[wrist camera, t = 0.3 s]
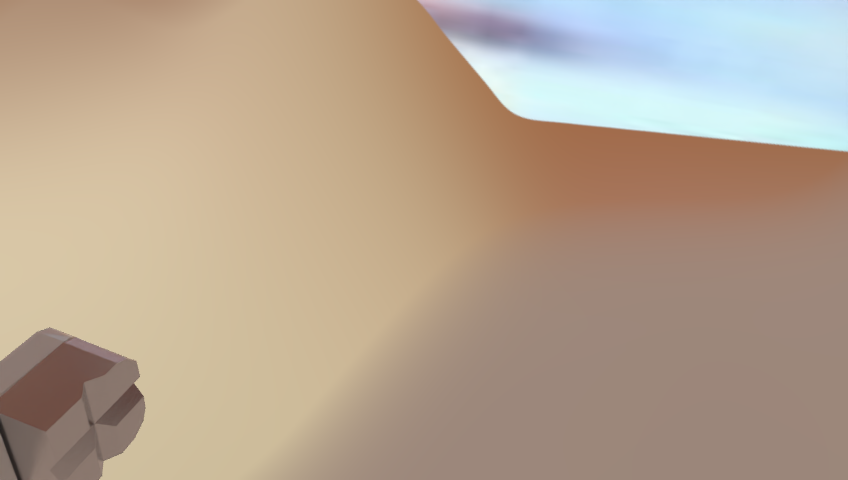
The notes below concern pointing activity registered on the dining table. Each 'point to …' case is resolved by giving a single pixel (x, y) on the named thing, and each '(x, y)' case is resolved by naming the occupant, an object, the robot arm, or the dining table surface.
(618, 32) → the dining table surface
